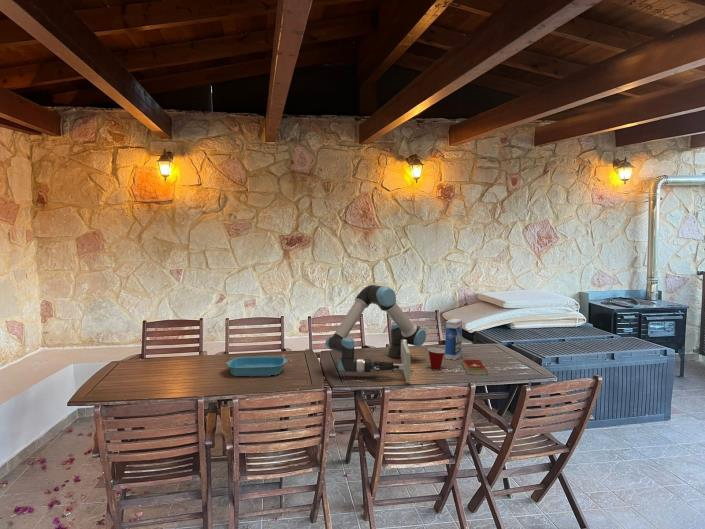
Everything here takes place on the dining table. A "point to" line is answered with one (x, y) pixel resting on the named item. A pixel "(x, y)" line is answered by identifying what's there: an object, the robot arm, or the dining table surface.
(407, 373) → the beige panel
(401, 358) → the post
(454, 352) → the string lights box
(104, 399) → the dining table surface
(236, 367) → the casserole dish
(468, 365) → the hardcover book
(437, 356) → the plastic cup
